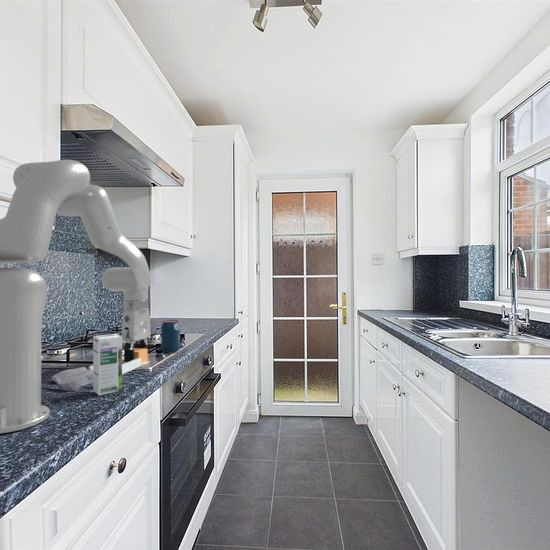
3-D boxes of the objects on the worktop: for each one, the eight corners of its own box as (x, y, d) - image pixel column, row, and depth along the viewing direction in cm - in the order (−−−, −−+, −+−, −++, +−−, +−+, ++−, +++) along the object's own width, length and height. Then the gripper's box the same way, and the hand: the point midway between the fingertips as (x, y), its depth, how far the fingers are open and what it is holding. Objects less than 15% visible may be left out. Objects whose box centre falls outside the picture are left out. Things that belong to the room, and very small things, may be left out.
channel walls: (114, 380, 101) (114, 368, 101) (88, 378, 103) (88, 366, 103) (141, 368, 114) (141, 357, 114) (117, 367, 116) (117, 356, 116)
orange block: (138, 364, 116) (138, 351, 116) (125, 363, 117) (125, 351, 117) (147, 360, 120) (147, 348, 120) (134, 359, 122) (134, 348, 122)
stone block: (73, 400, 91) (107, 382, 100) (69, 382, 90) (104, 366, 99) (48, 393, 97) (82, 377, 105) (44, 377, 96) (79, 362, 105)
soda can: (183, 351, 139) (183, 321, 139) (167, 354, 134) (167, 322, 134) (173, 348, 144) (173, 319, 144) (157, 351, 139) (158, 320, 139)
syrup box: (98, 396, 88) (98, 338, 88) (92, 390, 93) (92, 334, 93) (122, 391, 92) (122, 335, 92) (115, 385, 97) (116, 332, 96)
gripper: (130, 308, 109) (129, 366, 109) (160, 303, 126) (159, 354, 126) (108, 307, 110) (108, 365, 110) (140, 303, 127) (140, 352, 127)
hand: (135, 358), depth 118 cm, fingers open, 6 cm apart
